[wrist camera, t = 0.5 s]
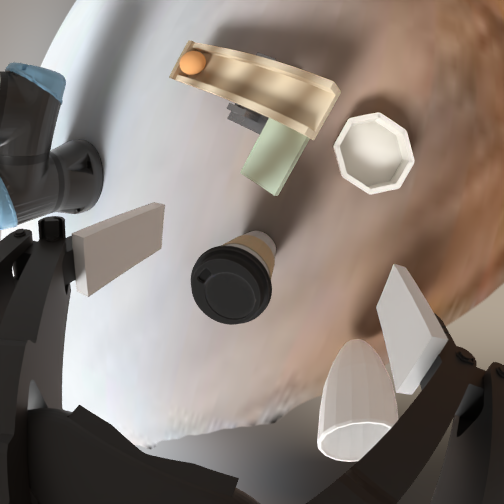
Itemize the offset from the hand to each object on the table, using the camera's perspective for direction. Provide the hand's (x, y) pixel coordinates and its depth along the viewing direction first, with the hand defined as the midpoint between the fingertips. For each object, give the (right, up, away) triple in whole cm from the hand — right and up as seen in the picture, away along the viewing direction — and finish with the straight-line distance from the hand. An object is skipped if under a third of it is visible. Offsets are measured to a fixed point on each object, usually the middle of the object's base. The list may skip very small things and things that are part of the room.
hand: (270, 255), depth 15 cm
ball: (-9, +25, +15) cm, 31 cm away
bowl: (+15, +14, +20) cm, 29 cm away
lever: (-3, +17, +16) cm, 24 cm away
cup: (+17, -15, +30) cm, 37 cm away
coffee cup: (0, +1, +29) cm, 29 cm away
